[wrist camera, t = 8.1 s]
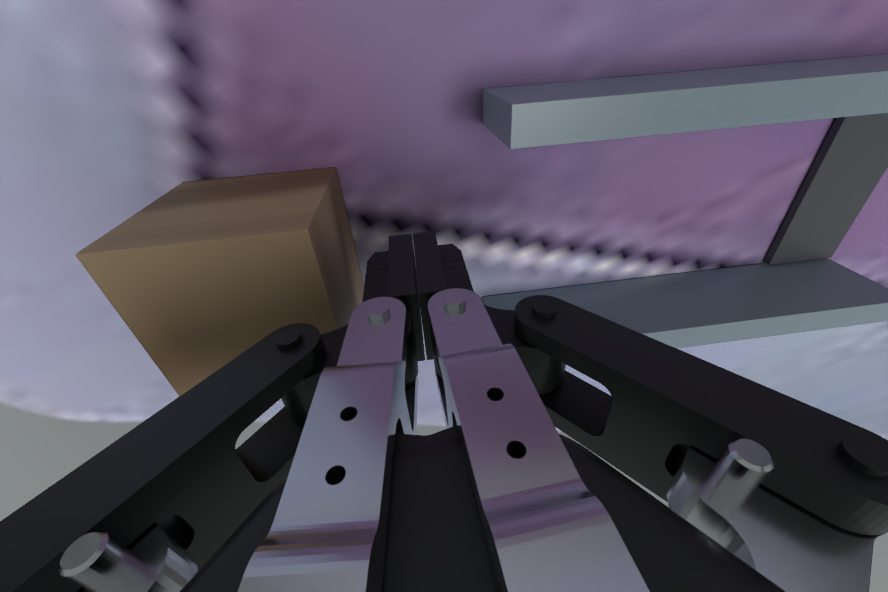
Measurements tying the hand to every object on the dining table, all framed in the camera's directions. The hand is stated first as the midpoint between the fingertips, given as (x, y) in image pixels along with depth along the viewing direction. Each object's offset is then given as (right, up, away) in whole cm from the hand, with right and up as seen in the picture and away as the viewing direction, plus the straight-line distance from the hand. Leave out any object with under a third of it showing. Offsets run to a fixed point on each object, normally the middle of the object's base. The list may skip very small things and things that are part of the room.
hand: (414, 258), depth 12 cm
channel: (+10, +2, +2) cm, 11 cm away
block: (-5, +1, +1) cm, 5 cm away
